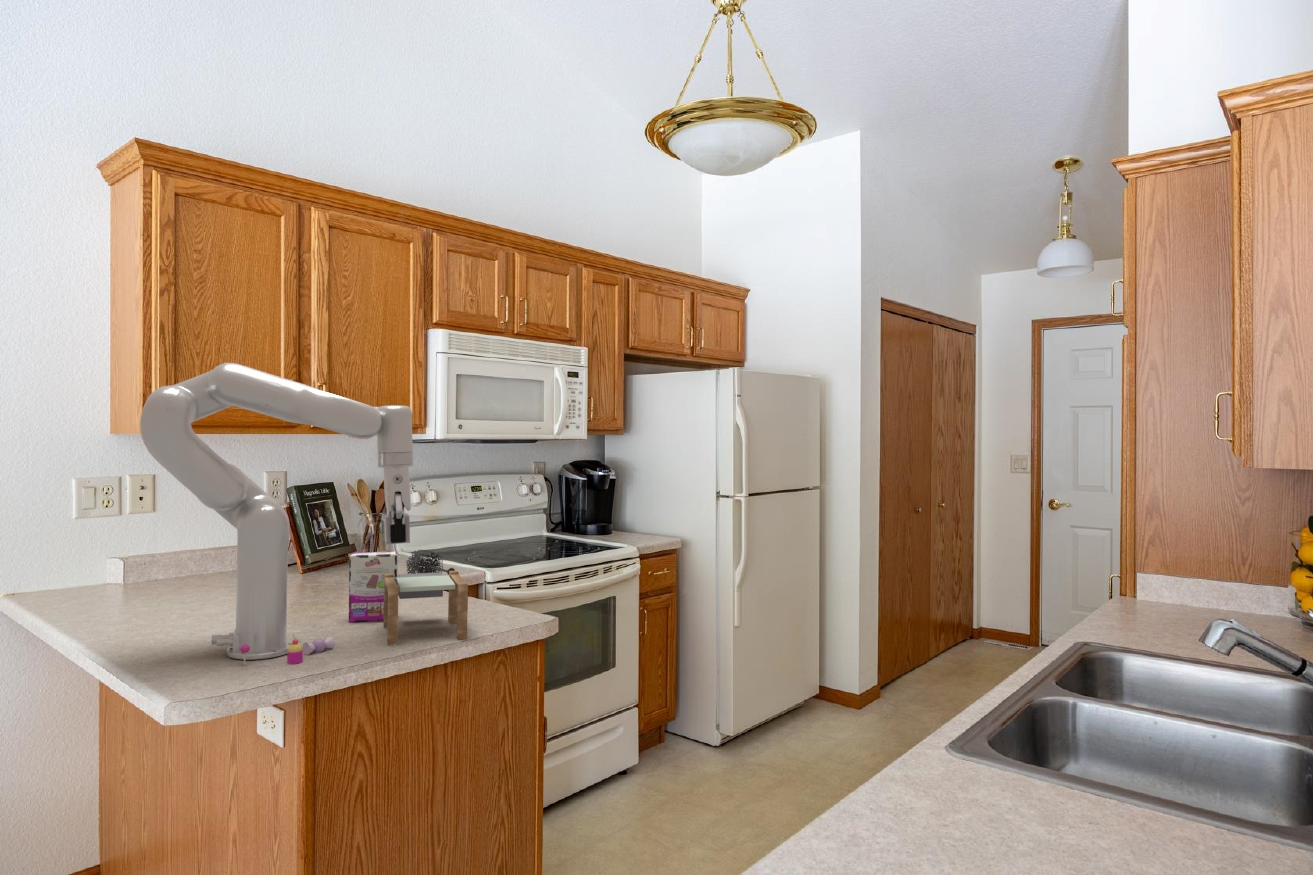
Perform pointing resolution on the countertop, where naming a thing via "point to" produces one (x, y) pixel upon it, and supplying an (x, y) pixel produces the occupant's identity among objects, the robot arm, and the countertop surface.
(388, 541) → the light gray block
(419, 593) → the trapdoor
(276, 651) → the robot arm
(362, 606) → the candy bar box
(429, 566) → the massage brush
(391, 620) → the frame
